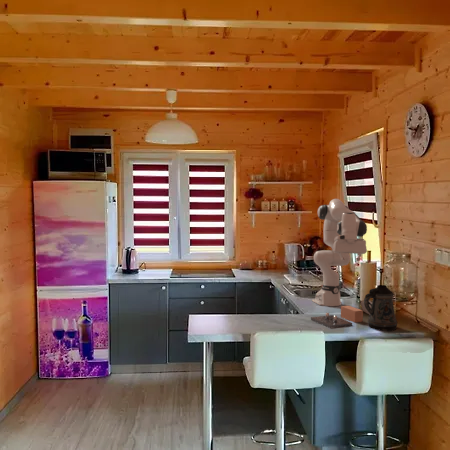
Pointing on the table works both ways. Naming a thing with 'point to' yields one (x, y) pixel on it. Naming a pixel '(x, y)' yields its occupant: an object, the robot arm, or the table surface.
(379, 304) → the beer stein
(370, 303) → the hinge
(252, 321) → the table surface
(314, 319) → the base plate
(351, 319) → the block
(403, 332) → the table surface
